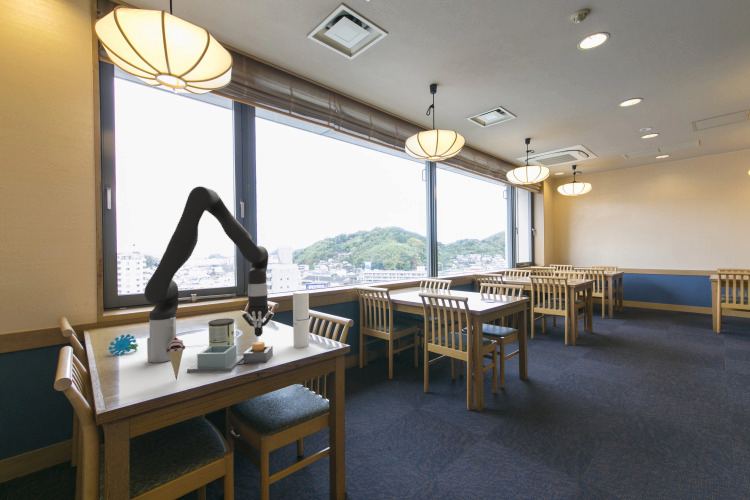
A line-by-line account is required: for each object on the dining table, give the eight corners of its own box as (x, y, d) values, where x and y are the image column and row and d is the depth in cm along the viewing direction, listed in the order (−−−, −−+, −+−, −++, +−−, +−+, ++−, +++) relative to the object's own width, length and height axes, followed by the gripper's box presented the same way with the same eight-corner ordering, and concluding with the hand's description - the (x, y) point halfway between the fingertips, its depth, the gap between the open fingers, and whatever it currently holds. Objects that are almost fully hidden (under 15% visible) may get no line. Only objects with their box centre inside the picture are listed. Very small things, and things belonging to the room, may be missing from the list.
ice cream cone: (171, 385, 109) (170, 340, 108) (163, 381, 112) (162, 338, 111) (188, 379, 113) (188, 336, 113) (180, 375, 116) (179, 334, 116)
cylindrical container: (305, 347, 147) (304, 293, 147) (290, 347, 149) (290, 293, 148) (311, 343, 154) (310, 291, 154) (297, 342, 156) (297, 291, 155)
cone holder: (187, 372, 119) (187, 355, 119) (206, 359, 133) (205, 344, 133) (230, 371, 120) (230, 355, 120) (244, 358, 134) (244, 343, 134)
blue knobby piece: (102, 352, 138) (116, 332, 145) (108, 358, 142) (122, 338, 149) (128, 355, 138) (142, 334, 146) (134, 361, 143) (146, 341, 150)
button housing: (243, 363, 128) (243, 353, 128) (251, 355, 137) (251, 346, 137) (266, 362, 129) (266, 352, 129) (272, 355, 138) (272, 345, 138)
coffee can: (209, 351, 144) (208, 319, 144) (234, 347, 148) (233, 317, 148) (208, 358, 135) (207, 324, 135) (235, 354, 139) (234, 322, 139)
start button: (250, 352, 131) (250, 345, 131) (254, 348, 135) (254, 341, 135) (262, 352, 131) (262, 345, 131) (266, 348, 136) (266, 341, 135)
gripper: (238, 296, 129) (239, 339, 129) (271, 295, 129) (272, 338, 129) (245, 293, 136) (246, 333, 137) (276, 292, 137) (277, 333, 137)
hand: (258, 335), depth 133 cm, fingers closed
